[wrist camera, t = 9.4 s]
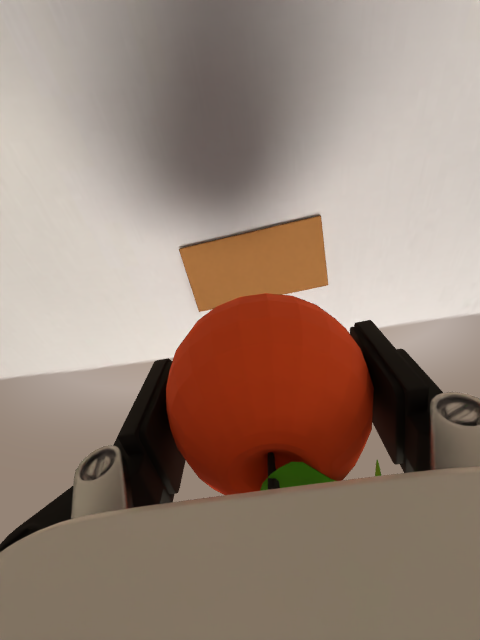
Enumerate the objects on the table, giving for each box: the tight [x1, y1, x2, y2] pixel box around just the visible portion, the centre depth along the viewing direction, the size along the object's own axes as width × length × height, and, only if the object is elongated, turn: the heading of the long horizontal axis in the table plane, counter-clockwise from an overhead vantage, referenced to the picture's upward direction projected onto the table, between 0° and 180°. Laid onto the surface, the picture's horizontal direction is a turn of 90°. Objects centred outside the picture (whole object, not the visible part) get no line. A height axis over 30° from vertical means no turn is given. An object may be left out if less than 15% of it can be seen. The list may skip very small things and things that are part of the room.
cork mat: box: [179, 216, 328, 312], centre depth 25 cm, size 12×6×1 cm, turn 103°
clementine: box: [166, 293, 381, 495], centre depth 10 cm, size 8×7×7 cm
